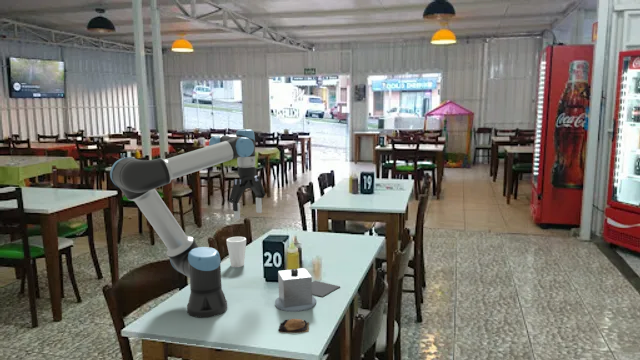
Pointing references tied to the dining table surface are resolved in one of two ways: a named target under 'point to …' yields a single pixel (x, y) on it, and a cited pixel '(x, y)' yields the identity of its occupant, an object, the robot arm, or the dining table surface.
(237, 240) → the foam cup
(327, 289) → the mat
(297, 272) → the food cover
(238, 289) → the dining table surface
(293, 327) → the bread roll
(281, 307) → the plate with peach cylinder
